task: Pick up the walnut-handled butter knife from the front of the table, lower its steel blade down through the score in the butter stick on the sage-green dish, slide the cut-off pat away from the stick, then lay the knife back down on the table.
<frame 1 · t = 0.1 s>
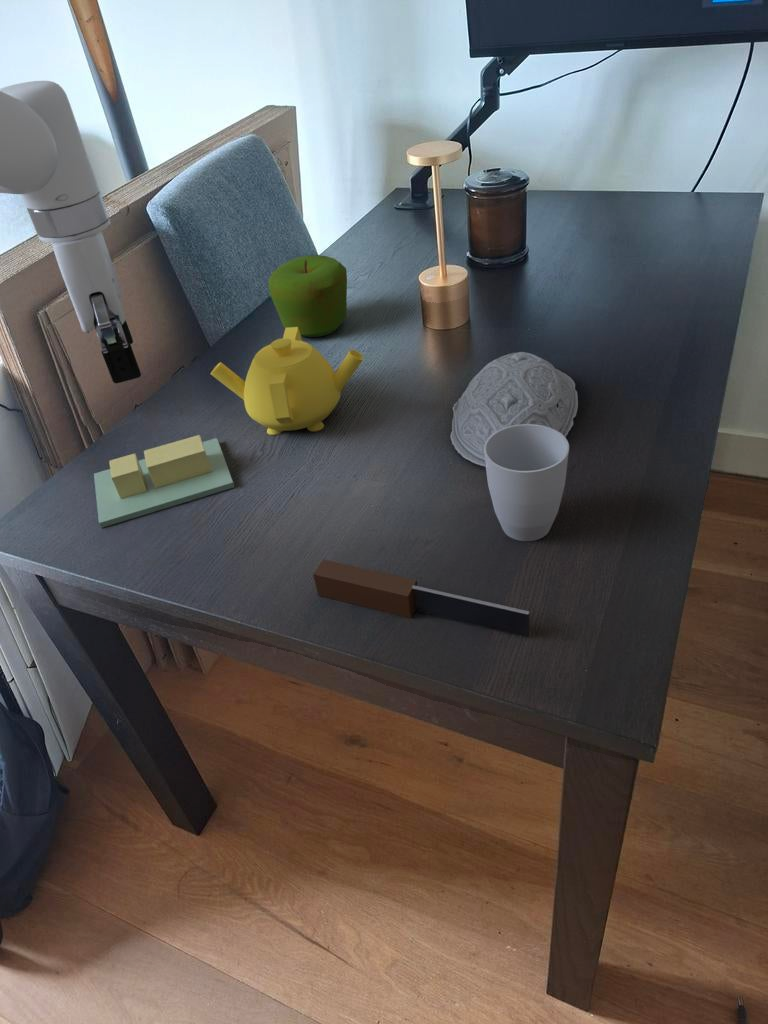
hand: (124, 362, 91), 13 cm above the table, tool pointing down, fingers open, 9 cm apart
teapot: (297, 418, 102), on the table
butter dish: (163, 482, 94), on the table
cup: (526, 527, 80), on the table
apple: (317, 329, 123), on the table
knife: (415, 610, 72), on the table
butter block: (181, 471, 94), resting on butter dish
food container: (513, 415, 97), on the table
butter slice: (132, 486, 93), point 1 cm above the table, touching butter dish
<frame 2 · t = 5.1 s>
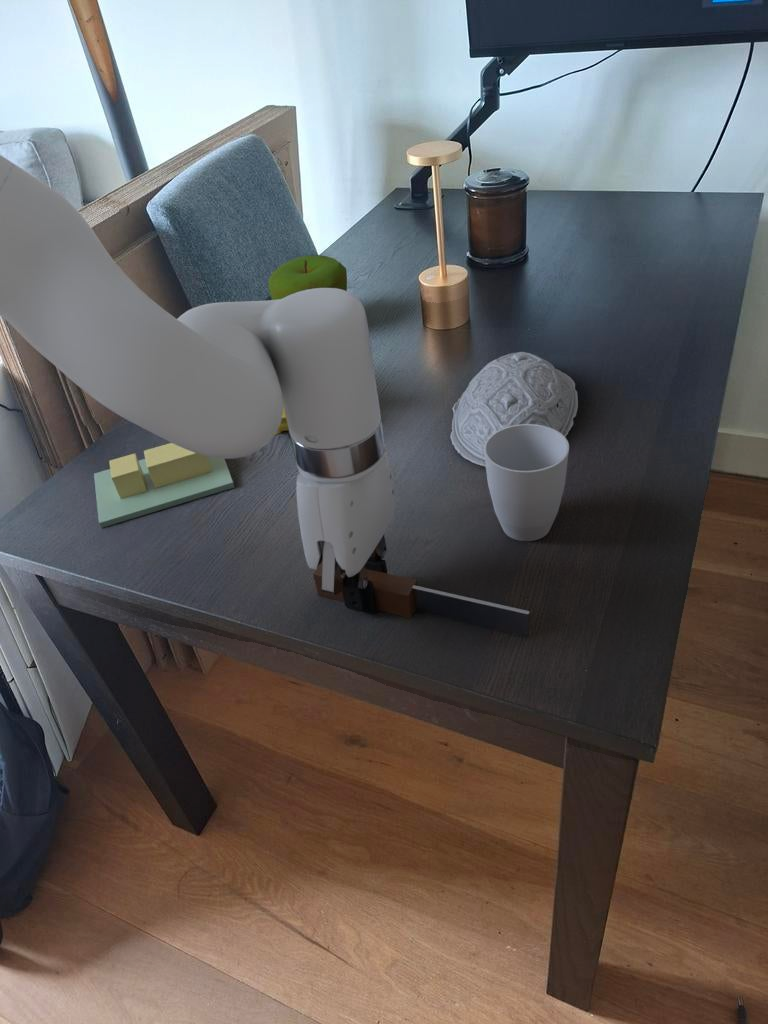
hand: (367, 597, 74), 0 cm above the table, tool pointing down, fingers closed on knife, 2 cm apart
knife: (415, 610, 72), on the table, touching gripper
everything else where it was.
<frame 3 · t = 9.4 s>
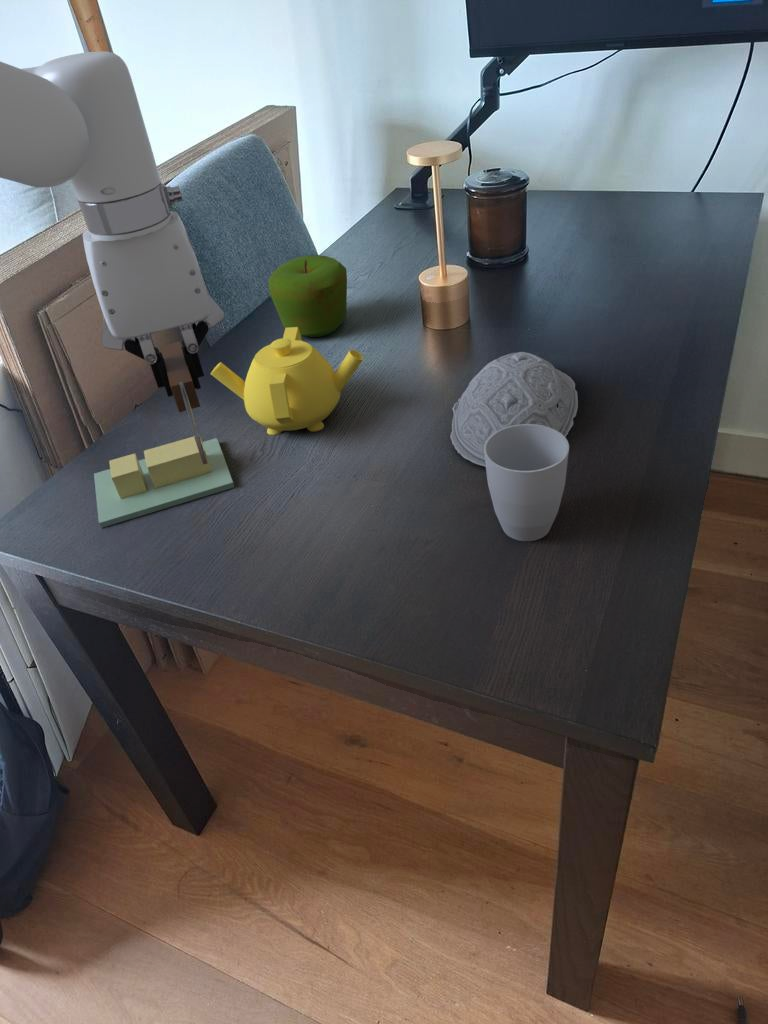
hand: (182, 385, 81), 15 cm above the table, tool pointing down, fingers closed on knife
knife: (189, 409, 77), point 15 cm above the table, touching gripper
everything else where it was.
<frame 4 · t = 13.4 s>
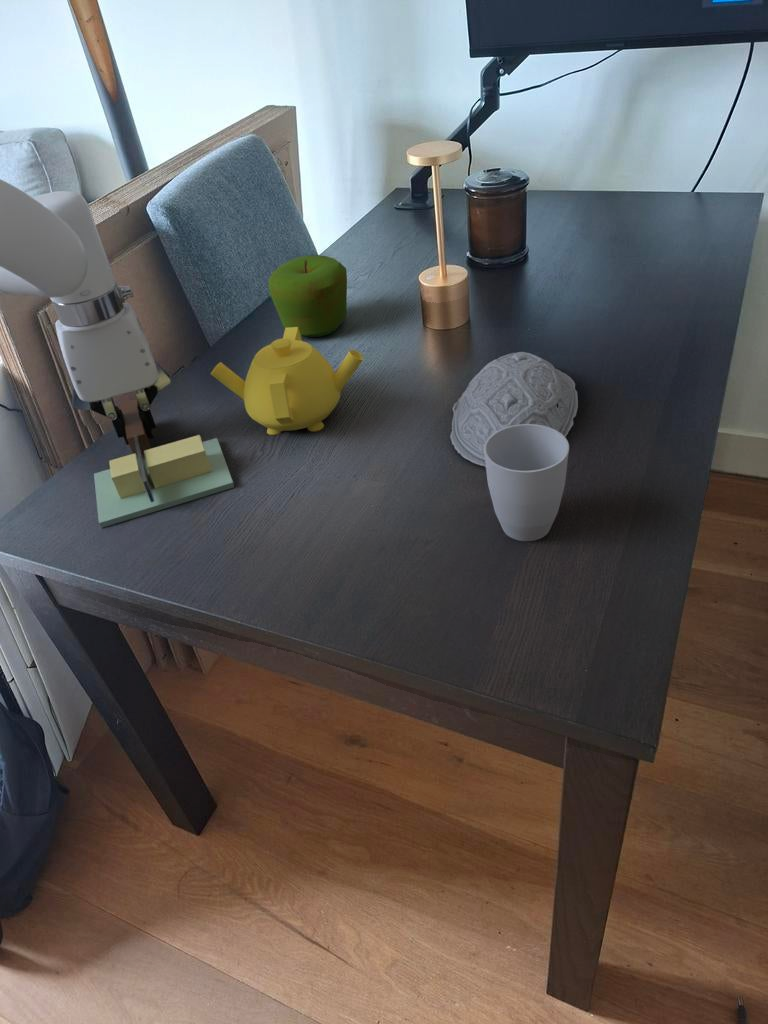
hand: (138, 435, 100), 1 cm above the table, tool pointing down, fingers closed on knife, 2 cm apart
knife: (143, 455, 97), point 1 cm above the table, touching gripper
everything else where it was.
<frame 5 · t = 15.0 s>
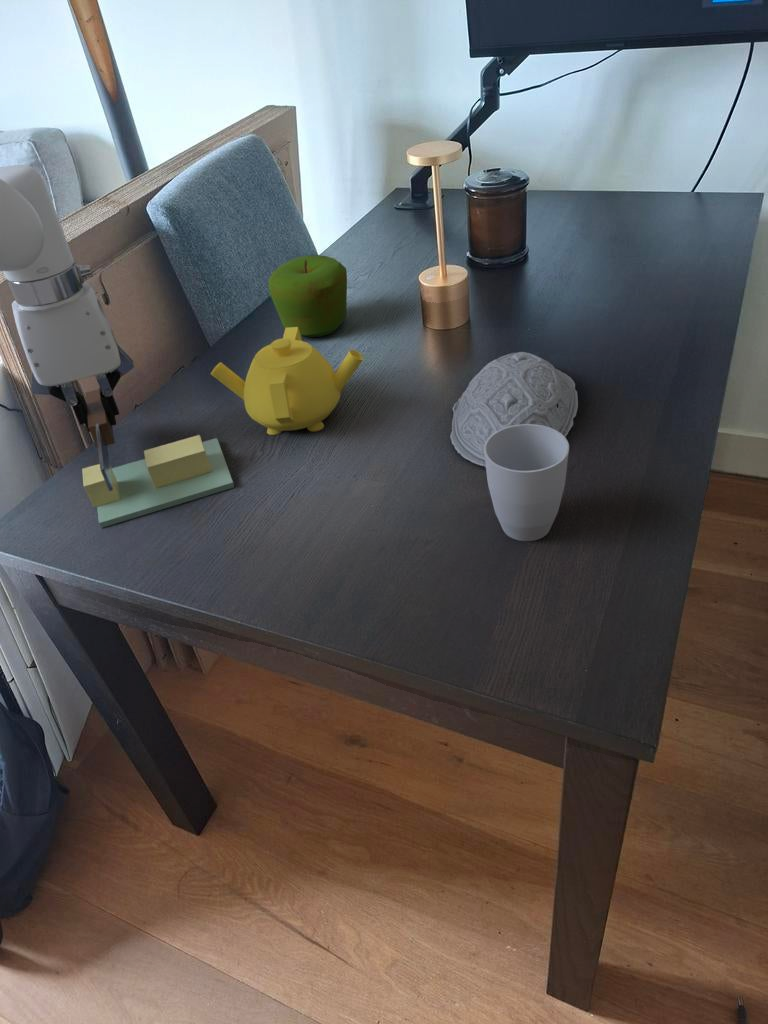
hand: (101, 422, 97), 5 cm above the table, tool pointing down, fingers closed on knife
knife: (105, 445, 94), point 4 cm above the table, touching gripper
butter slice: (105, 494, 92), point 1 cm above the table, touching butter dish
everything else where it was.
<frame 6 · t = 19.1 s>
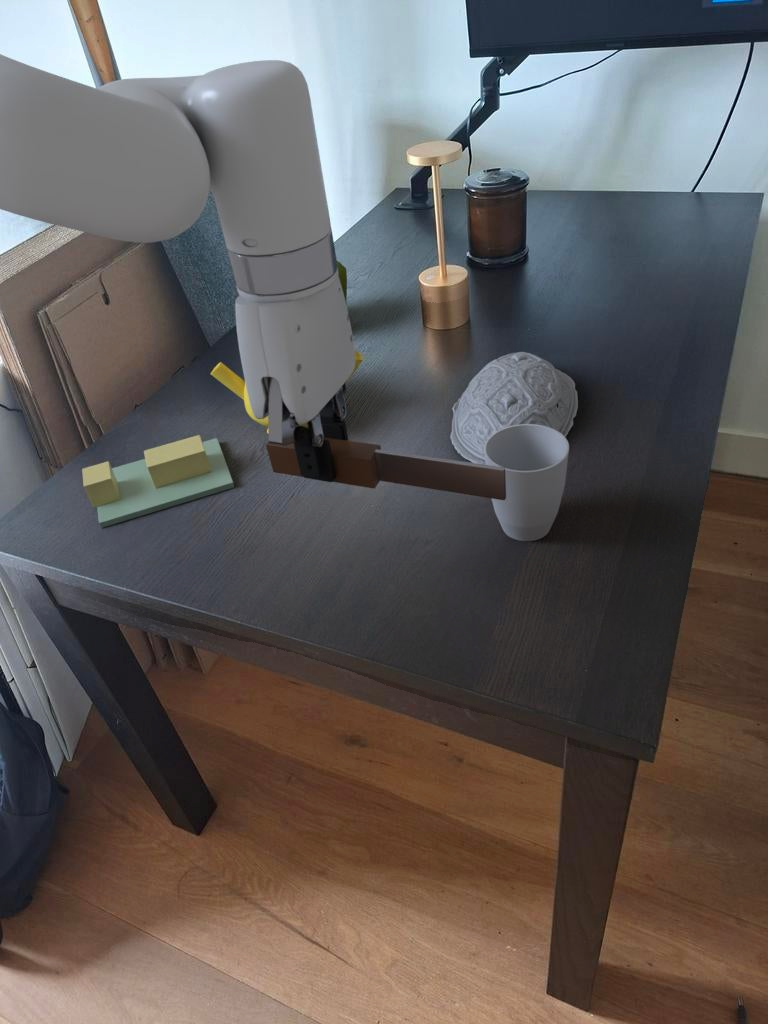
hand: (326, 466, 66), 15 cm above the table, tool pointing down, fingers closed on knife
knife: (379, 481, 64), point 14 cm above the table, touching gripper
everything else where it was.
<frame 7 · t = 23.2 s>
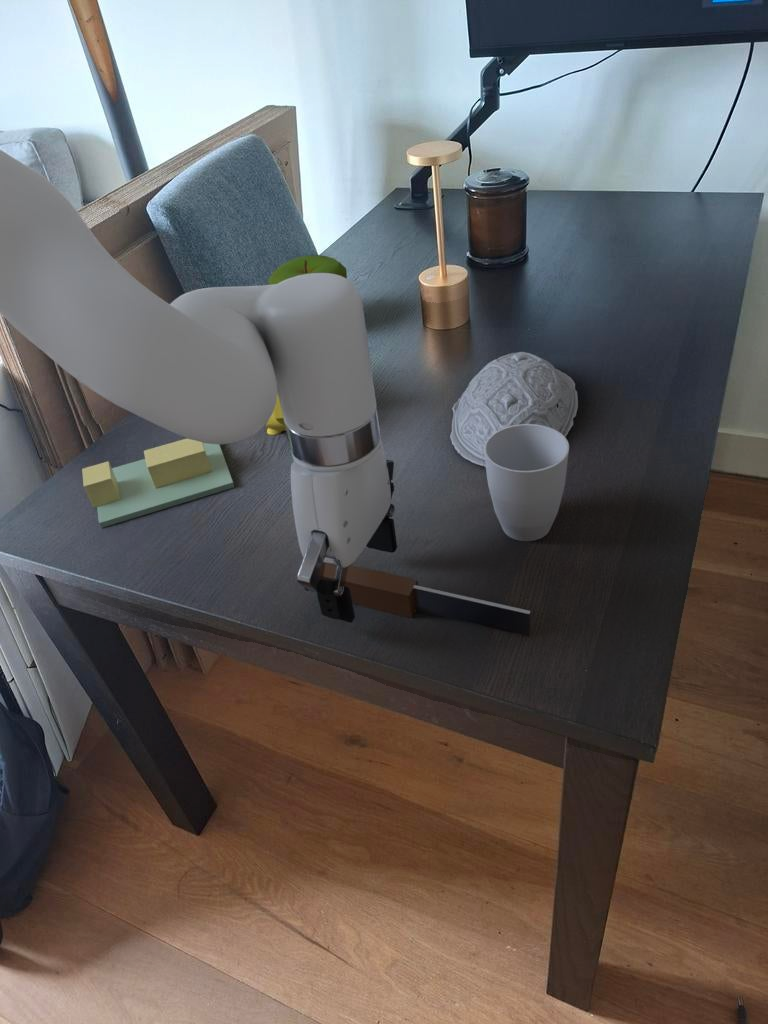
hand: (361, 581, 72), 2 cm above the table, tool pointing down, fingers open, 9 cm apart
knife: (416, 609, 72), on the table
everything else where it was.
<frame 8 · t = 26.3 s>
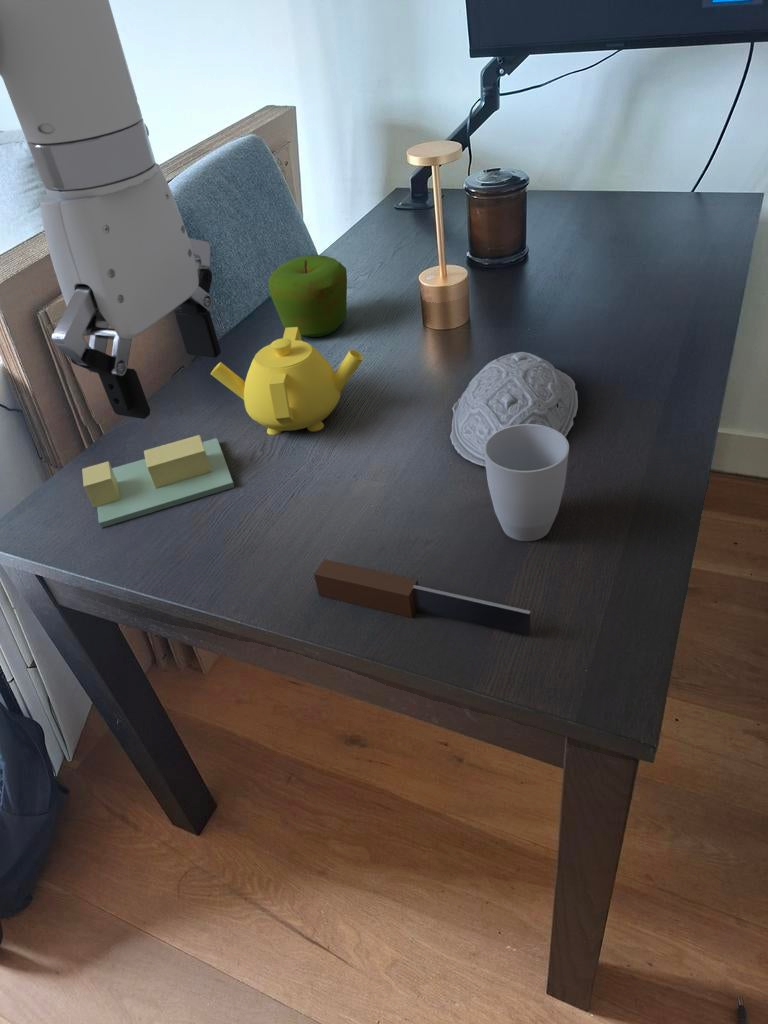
hand: (170, 383, 61), 24 cm above the table, tool pointing down, fingers open, 9 cm apart
nothing on the table moved.
at the end: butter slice 1.7 cm from the target spot on the table beside the butter block, resting on butter dish; the gripper is holding nothing; knife on the table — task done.
